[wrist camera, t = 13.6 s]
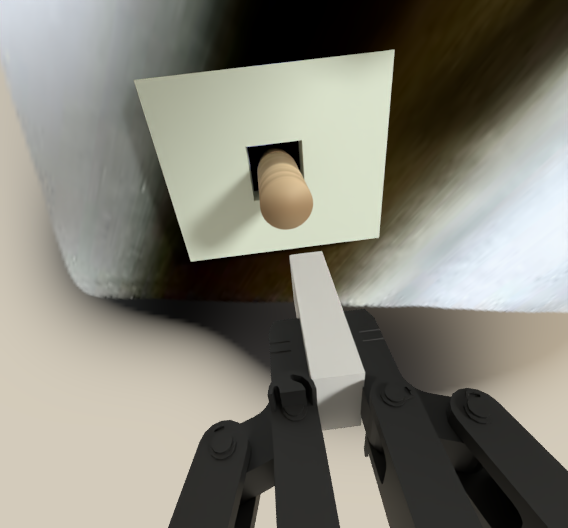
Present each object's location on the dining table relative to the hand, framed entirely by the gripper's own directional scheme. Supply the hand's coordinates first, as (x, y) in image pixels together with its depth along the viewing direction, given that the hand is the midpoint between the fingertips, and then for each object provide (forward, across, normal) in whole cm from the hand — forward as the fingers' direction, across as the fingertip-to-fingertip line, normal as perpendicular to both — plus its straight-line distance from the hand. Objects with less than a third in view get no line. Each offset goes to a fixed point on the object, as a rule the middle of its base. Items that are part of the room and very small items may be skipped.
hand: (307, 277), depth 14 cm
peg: (+22, 0, 0) cm, 22 cm away
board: (+22, 0, 0) cm, 22 cm away
